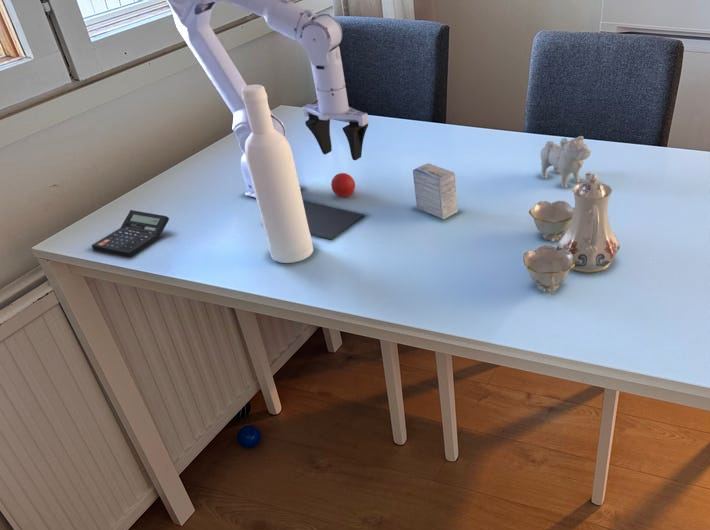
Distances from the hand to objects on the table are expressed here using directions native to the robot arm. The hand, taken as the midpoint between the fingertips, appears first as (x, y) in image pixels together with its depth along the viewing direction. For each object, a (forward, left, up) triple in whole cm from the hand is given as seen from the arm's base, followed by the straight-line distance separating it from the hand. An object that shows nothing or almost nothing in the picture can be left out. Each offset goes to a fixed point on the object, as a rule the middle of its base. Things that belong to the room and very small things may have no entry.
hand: (342, 155), depth 136 cm
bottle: (+4, -23, -10) cm, 26 cm away
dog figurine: (+38, +27, -10) cm, 48 cm away
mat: (0, -11, -10) cm, 14 cm away
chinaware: (+52, -4, -10) cm, 53 cm away
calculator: (-29, -32, -10) cm, 44 cm away
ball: (-2, +1, -10) cm, 10 cm away
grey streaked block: (+20, +3, -10) cm, 23 cm away
